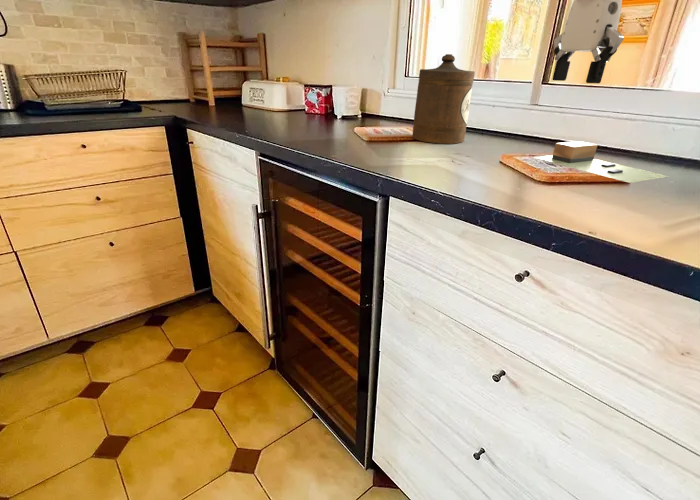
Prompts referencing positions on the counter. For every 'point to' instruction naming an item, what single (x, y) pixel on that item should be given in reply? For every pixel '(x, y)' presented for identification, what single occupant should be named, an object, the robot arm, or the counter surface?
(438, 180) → the counter surface
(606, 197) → the counter surface
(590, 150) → the eraser
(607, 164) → the ink stroke
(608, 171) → the ink stroke
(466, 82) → the wooden container
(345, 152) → the counter surface
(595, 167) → the board
